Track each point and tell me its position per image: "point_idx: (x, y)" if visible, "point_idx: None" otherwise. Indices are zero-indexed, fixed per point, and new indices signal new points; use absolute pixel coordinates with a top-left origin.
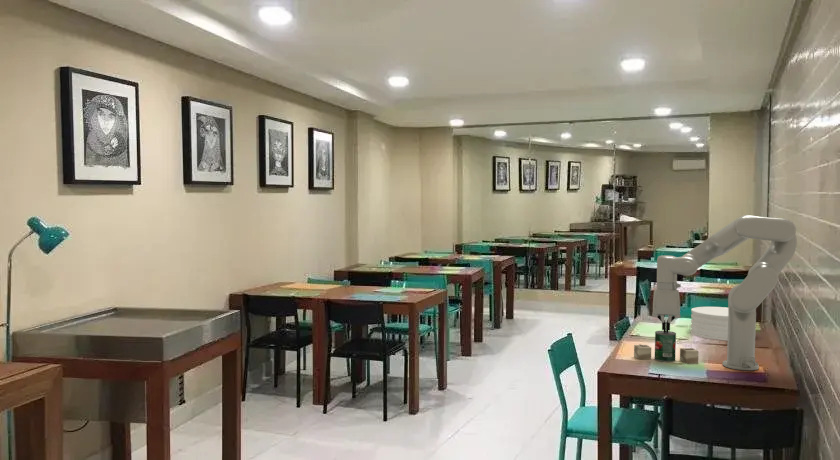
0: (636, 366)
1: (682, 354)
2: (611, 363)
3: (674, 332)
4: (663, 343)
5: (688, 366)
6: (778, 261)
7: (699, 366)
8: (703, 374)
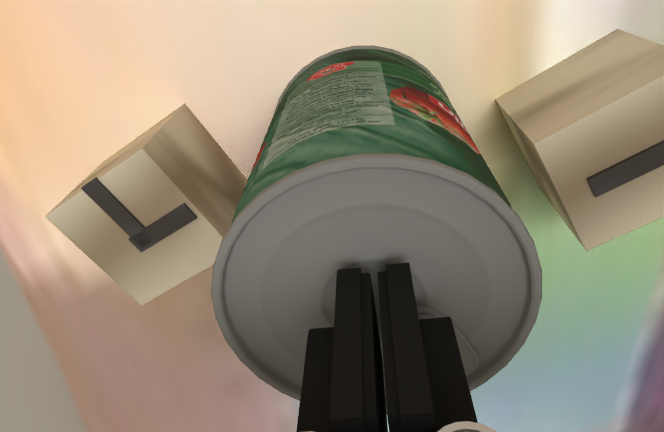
0: (225, 395)
1: (536, 164)
2: (75, 392)
3: (521, 239)
4: None
5: (548, 270)
6: None
7: (637, 236)
8: (615, 404)
